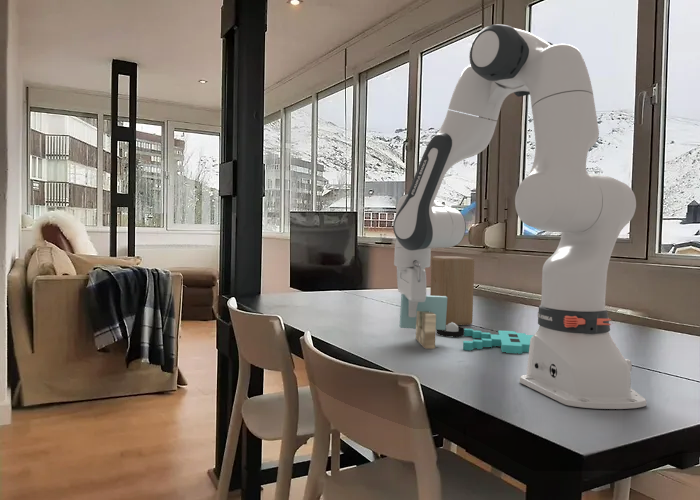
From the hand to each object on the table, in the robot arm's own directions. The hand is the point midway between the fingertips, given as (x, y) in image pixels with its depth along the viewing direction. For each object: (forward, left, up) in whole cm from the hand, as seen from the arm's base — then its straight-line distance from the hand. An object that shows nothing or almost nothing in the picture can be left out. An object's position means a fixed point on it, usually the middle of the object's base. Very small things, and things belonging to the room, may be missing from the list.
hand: (410, 315), depth 141 cm
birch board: (0, -4, -7) cm, 8 cm away
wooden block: (+31, -18, -7) cm, 36 cm away
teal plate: (0, -3, -3) cm, 4 cm away
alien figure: (0, -24, -8) cm, 25 cm away
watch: (+11, -13, -7) cm, 18 cm away
